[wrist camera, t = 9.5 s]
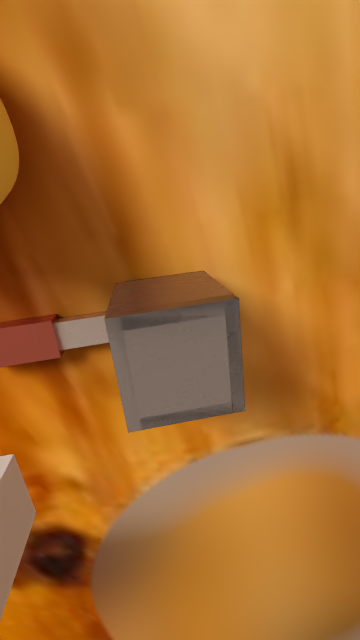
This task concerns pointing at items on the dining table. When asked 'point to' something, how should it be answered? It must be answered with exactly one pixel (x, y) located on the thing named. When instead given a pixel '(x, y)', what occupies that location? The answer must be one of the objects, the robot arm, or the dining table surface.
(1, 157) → the teapot
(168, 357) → the rimmed grey cube
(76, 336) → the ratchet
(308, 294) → the dining table surface
